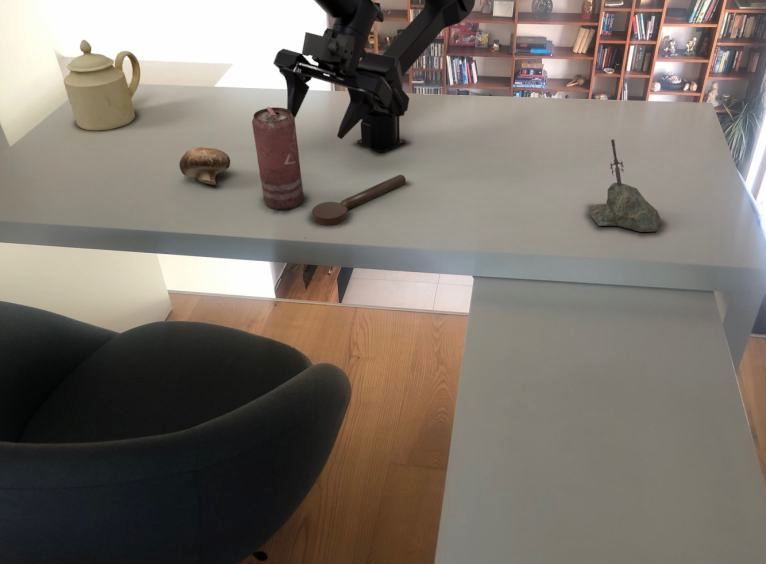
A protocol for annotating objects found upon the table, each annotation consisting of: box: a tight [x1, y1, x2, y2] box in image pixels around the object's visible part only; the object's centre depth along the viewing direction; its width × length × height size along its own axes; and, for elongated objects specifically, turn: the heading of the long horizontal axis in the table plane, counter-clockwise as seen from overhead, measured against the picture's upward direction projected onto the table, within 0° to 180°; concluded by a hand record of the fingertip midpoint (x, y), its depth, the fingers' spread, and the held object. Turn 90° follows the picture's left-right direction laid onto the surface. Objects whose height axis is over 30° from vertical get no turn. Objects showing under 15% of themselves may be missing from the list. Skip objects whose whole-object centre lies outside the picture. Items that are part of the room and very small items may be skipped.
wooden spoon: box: [311, 174, 407, 226], centre depth 107 cm, size 18×5×2 cm, turn 135°
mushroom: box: [178, 146, 231, 186], centre depth 113 cm, size 8×8×6 cm
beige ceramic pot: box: [63, 39, 141, 131], centre depth 133 cm, size 15×11×15 cm
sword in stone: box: [590, 138, 662, 233], centre depth 99 cm, size 10×8×12 cm
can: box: [251, 106, 304, 211], centre depth 104 cm, size 6×6×14 cm
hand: (313, 129), depth 108 cm, fingers open, 9 cm apart
